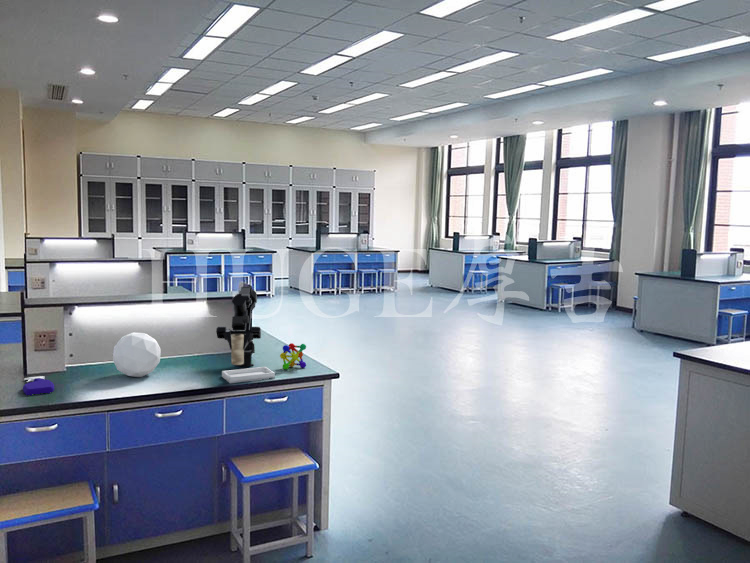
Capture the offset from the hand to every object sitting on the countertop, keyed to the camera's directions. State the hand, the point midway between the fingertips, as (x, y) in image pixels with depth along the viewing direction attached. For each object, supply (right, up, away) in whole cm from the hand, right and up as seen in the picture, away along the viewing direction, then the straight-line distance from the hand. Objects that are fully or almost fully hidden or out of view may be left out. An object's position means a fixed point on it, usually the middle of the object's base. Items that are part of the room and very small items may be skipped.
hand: (237, 349), depth 263 cm
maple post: (0, -6, +2) cm, 7 cm away
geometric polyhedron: (-45, -12, +5) cm, 47 cm away
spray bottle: (-77, -14, -15) cm, 80 cm away
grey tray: (+3, -13, +7) cm, 15 cm away
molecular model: (+20, -12, +26) cm, 35 cm away
